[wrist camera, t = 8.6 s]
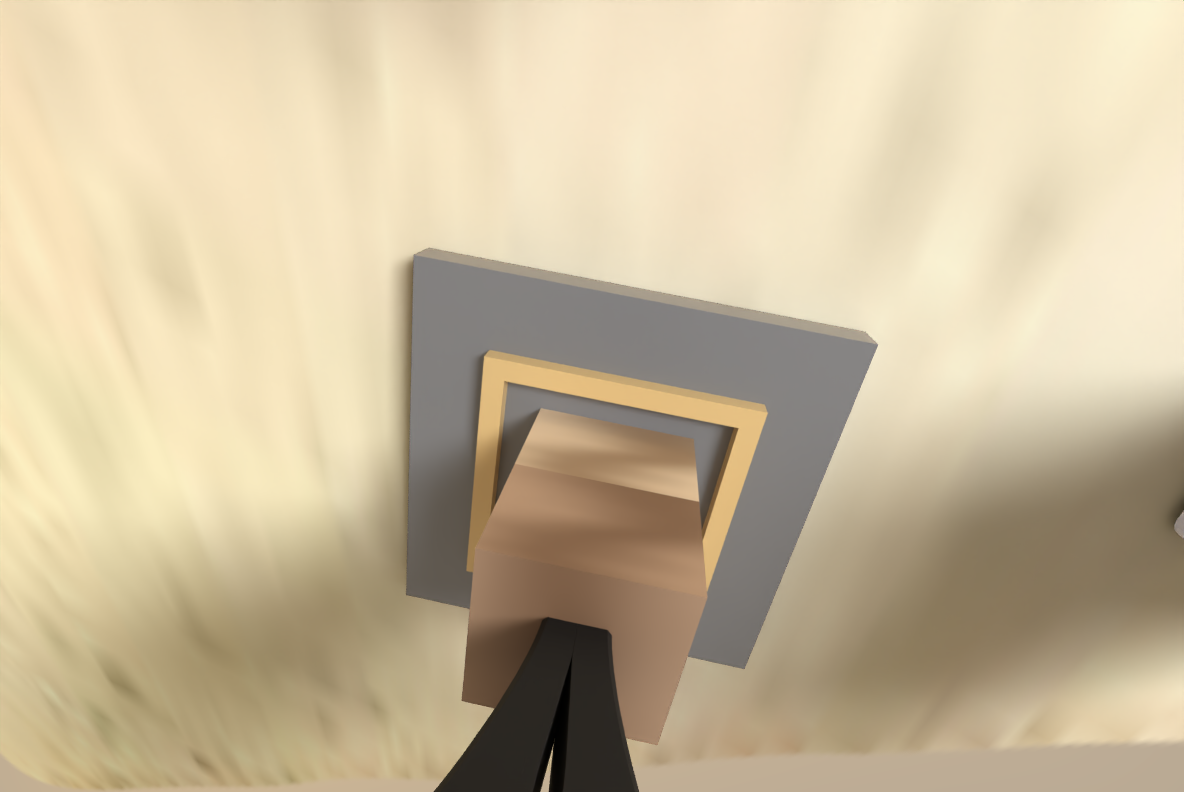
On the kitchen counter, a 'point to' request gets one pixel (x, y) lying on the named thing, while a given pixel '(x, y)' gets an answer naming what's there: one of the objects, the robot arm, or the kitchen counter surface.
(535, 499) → the tan wooden block
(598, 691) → the robot arm
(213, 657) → the kitchen counter surface
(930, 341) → the kitchen counter surface
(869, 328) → the kitchen counter surface
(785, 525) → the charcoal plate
